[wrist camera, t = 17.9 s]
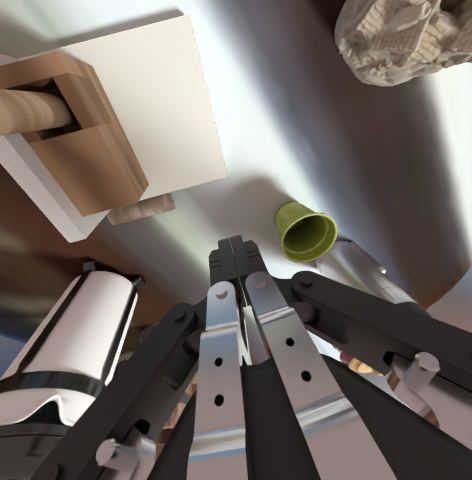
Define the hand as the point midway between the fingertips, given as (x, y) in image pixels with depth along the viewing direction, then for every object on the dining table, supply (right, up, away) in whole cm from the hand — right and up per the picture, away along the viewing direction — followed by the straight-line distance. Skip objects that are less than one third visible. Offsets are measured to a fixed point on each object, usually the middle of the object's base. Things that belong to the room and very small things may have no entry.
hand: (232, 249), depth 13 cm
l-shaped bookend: (-13, +16, +15) cm, 26 cm away
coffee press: (-27, -10, +30) cm, 41 cm away
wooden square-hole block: (-18, +14, +14) cm, 26 cm away
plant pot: (+11, +5, +27) cm, 29 cm away
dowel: (-18, +15, +10) cm, 26 cm away
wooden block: (-15, +5, +21) cm, 26 cm away
